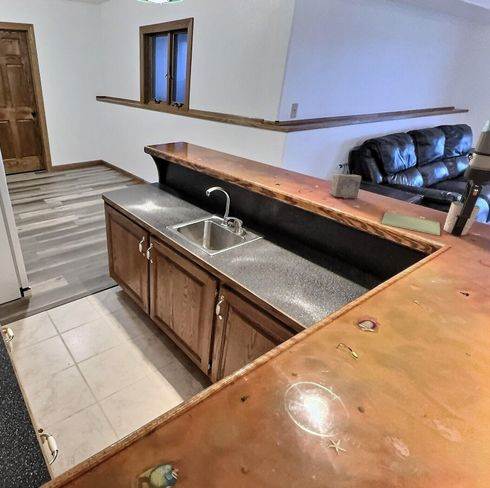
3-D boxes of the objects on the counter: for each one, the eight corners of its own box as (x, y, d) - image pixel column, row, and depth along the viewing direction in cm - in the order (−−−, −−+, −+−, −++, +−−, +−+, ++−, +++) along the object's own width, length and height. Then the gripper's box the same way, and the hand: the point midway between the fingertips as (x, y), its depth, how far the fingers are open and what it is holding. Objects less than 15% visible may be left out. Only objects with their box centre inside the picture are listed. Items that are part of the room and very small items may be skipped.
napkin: (439, 223, 132) (439, 222, 132) (439, 235, 121) (440, 235, 121) (385, 212, 141) (385, 211, 141) (381, 223, 130) (381, 222, 130)
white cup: (447, 234, 122) (458, 207, 118) (437, 226, 129) (447, 200, 125) (473, 237, 121) (485, 210, 116) (461, 228, 128) (473, 202, 123)
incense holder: (350, 194, 161) (356, 172, 156) (356, 200, 154) (363, 177, 149) (328, 193, 162) (333, 171, 158) (333, 199, 155) (339, 176, 150)
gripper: (465, 160, 124) (441, 219, 134) (470, 172, 109) (442, 238, 119) (492, 163, 120) (466, 224, 131) (501, 176, 105) (470, 243, 115)
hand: (455, 230), depth 125 cm, fingers closed on white cup, 8 cm apart
